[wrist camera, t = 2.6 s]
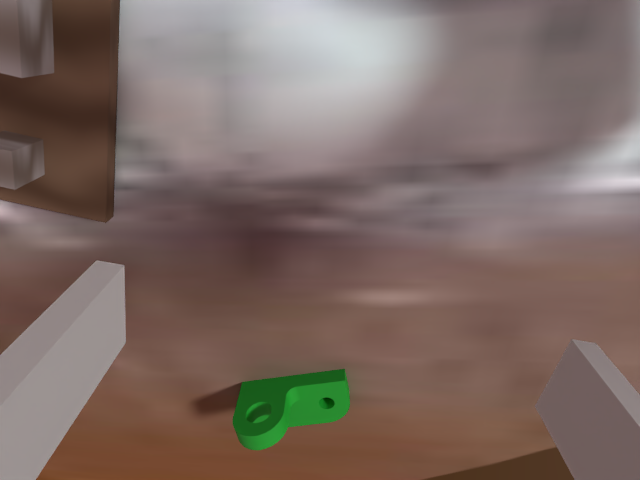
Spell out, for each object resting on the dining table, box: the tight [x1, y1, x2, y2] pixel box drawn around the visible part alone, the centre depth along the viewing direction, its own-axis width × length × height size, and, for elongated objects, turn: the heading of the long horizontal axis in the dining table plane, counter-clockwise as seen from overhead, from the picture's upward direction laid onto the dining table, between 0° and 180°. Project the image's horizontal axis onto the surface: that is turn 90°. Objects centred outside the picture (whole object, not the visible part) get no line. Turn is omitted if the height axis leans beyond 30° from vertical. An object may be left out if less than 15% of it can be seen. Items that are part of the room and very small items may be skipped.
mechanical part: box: [233, 369, 350, 450], centre depth 48 cm, size 12×6×8 cm, turn 101°
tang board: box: [0, 0, 120, 223], centre depth 34 cm, size 20×14×6 cm
